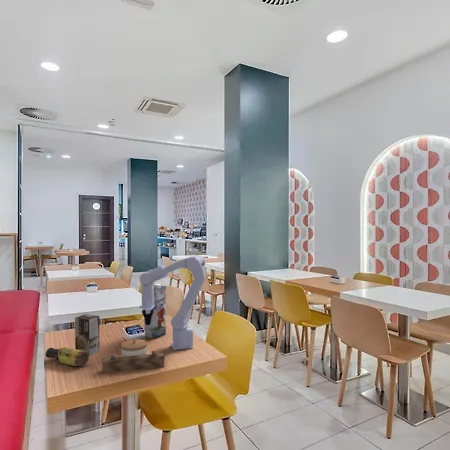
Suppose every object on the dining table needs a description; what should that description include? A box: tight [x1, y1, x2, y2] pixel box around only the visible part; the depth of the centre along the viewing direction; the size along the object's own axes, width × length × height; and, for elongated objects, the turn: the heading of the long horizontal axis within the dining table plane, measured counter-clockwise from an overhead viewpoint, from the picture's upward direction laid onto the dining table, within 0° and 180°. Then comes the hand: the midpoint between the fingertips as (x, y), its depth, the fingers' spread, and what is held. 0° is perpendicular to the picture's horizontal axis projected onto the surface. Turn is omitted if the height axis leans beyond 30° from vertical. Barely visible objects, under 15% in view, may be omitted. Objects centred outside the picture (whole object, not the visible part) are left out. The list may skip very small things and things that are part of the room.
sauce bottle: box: [44, 347, 90, 368], centre depth 141 cm, size 6×6×20 cm
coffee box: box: [74, 313, 101, 356], centre depth 154 cm, size 9×6×16 cm
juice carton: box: [143, 283, 167, 339], centre depth 176 cm, size 9×10×27 cm
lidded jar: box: [120, 338, 148, 357], centre depth 143 cm, size 11×11×9 cm
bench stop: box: [101, 350, 165, 374], centre depth 136 cm, size 24×3×6 cm, turn 104°
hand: (147, 324), depth 163 cm, fingers closed
